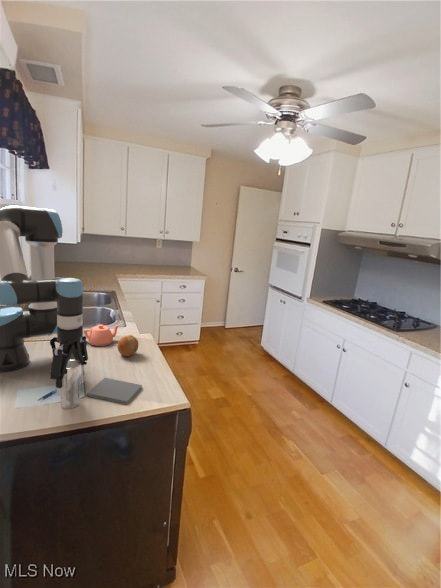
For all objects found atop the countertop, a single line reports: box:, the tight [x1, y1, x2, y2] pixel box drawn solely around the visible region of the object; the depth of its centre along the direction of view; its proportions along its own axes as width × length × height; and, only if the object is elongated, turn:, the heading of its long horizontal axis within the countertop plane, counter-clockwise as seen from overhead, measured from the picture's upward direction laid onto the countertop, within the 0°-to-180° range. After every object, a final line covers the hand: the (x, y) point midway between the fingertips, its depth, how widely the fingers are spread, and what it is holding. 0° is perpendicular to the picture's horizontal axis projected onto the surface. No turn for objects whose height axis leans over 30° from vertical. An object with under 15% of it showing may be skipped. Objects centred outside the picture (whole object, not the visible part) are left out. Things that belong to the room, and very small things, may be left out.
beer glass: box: [60, 360, 82, 410], centre depth 104 cm, size 7×7×15 cm
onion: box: [117, 334, 139, 357], centre depth 146 cm, size 10×10×10 cm
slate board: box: [86, 377, 143, 405], centre depth 115 cm, size 16×12×1 cm
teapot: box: [83, 323, 121, 347], centre depth 158 cm, size 12×18×10 cm
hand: (70, 388), depth 104 cm, fingers open, 9 cm apart
